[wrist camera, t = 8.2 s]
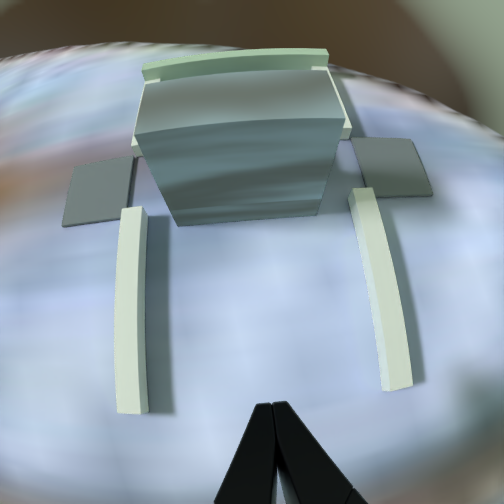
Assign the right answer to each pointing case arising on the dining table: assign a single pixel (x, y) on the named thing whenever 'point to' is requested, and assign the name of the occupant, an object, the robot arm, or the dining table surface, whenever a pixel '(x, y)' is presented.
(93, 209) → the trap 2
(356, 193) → the pale green open frame
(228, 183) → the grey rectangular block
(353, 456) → the dining table surface
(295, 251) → the dining table surface
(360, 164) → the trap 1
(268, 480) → the robot arm
